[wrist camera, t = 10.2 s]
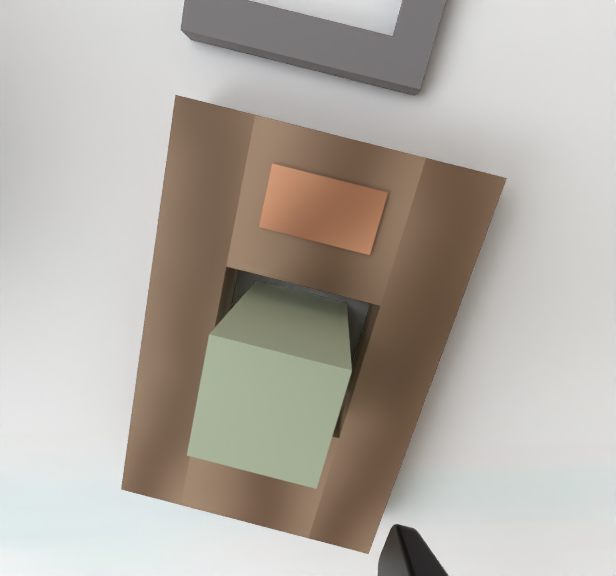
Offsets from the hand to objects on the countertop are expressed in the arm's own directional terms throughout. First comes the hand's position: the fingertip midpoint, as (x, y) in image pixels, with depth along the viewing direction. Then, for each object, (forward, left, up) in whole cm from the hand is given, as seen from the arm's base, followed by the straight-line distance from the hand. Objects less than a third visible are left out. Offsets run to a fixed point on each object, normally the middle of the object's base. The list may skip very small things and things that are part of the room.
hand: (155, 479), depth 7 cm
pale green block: (+2, -1, -12) cm, 12 cm away
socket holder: (+2, -1, -12) cm, 12 cm away
